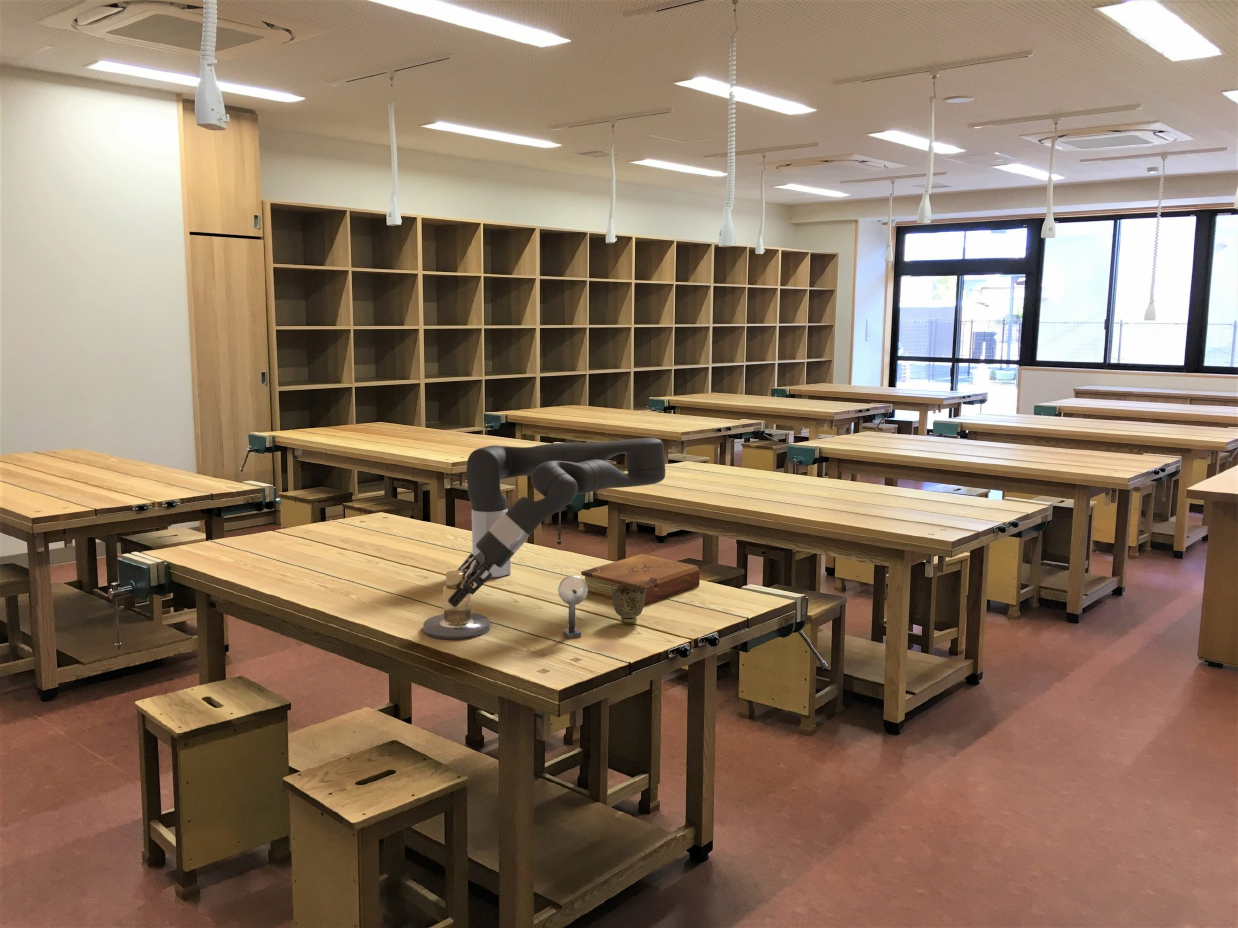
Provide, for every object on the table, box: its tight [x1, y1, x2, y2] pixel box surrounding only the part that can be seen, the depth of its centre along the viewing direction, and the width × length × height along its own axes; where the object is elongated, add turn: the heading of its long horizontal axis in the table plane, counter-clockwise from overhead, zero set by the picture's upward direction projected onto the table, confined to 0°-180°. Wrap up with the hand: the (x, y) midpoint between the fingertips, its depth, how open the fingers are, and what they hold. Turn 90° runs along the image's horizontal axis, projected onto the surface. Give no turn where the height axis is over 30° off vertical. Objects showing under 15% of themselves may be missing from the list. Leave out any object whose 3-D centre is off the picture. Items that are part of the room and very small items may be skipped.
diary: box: [580, 553, 701, 606], centre depth 233 cm, size 23×19×6 cm
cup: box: [611, 583, 646, 626], centre depth 206 cm, size 8×7×8 cm
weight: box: [442, 569, 472, 623], centre depth 201 cm, size 6×6×10 cm
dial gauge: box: [557, 574, 588, 639], centre depth 197 cm, size 6×4×13 cm, turn 109°
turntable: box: [422, 612, 491, 641], centre depth 202 cm, size 14×14×2 cm
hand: (448, 599), depth 201 cm, fingers closed on weight, 5 cm apart
